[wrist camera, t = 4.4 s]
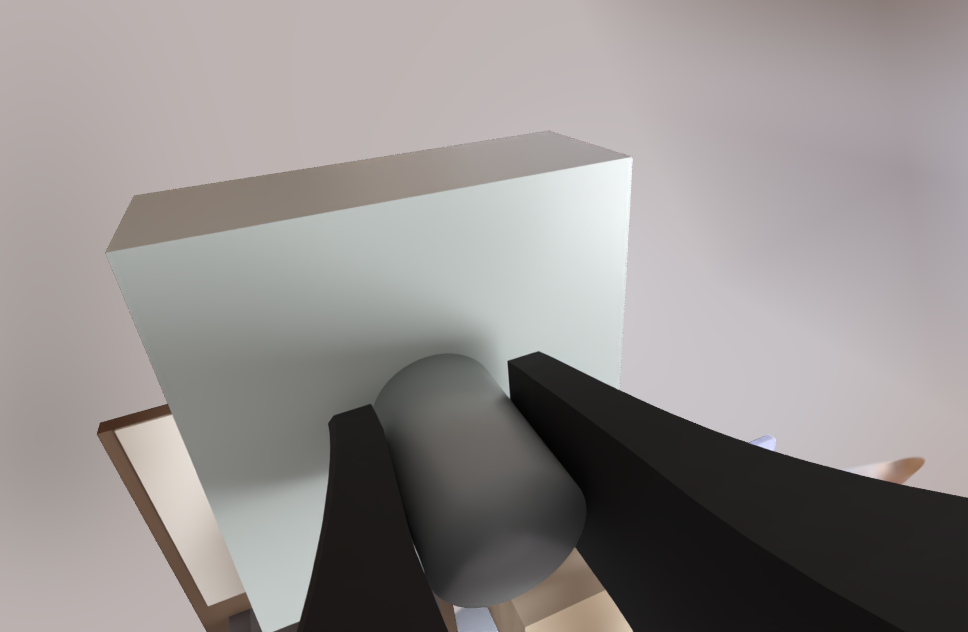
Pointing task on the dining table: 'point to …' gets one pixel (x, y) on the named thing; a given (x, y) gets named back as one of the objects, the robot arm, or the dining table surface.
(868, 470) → the dining table surface
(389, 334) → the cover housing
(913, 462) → the dining table surface
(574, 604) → the maple peg
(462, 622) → the dining table surface
